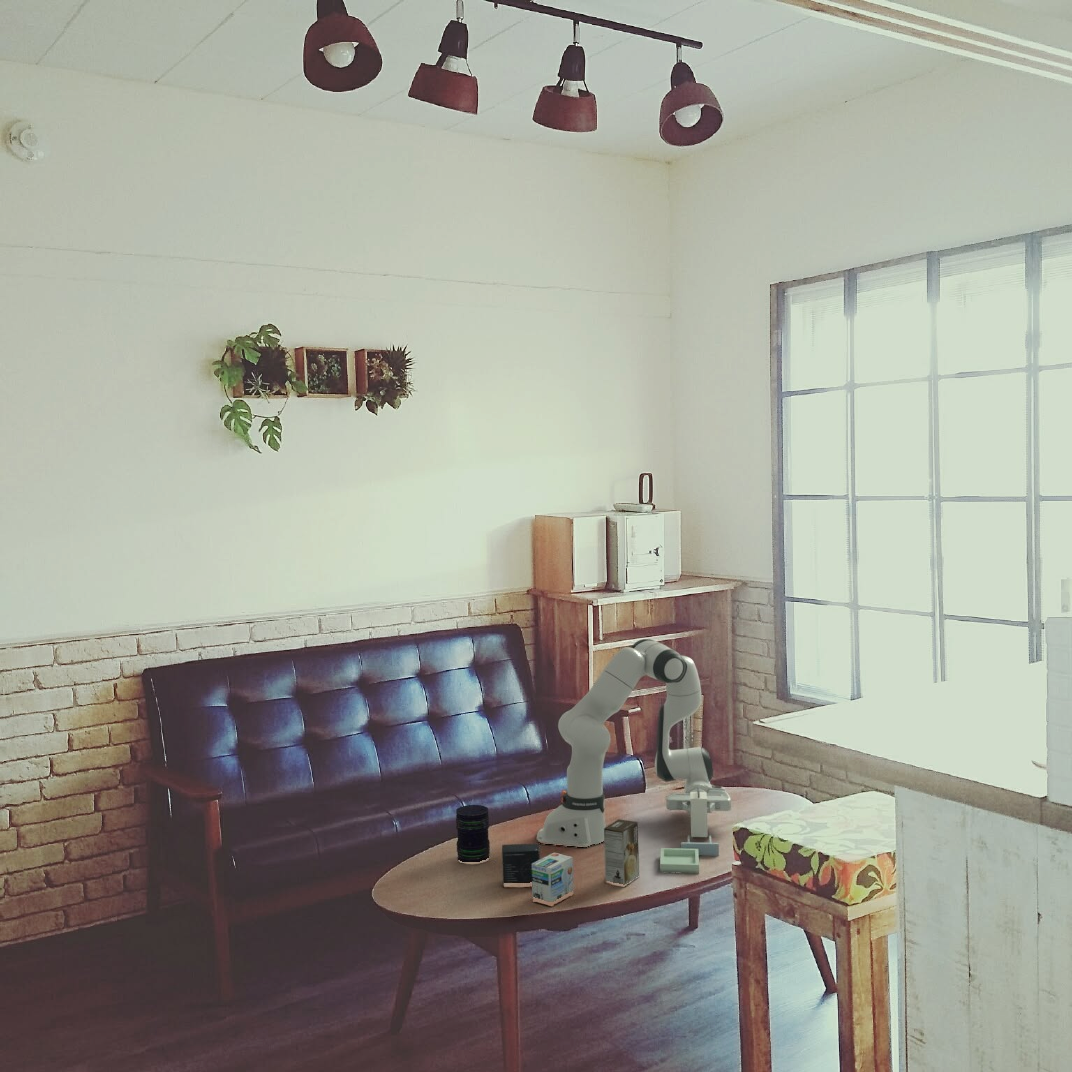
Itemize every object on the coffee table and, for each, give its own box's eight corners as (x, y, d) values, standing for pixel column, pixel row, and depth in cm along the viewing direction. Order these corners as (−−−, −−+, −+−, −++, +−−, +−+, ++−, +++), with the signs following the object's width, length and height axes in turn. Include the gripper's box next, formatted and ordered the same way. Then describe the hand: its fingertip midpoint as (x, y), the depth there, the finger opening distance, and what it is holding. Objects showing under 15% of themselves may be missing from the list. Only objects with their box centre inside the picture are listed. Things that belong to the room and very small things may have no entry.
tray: (660, 872, 321) (660, 864, 321) (660, 856, 334) (660, 848, 334) (699, 873, 320) (699, 864, 319) (698, 857, 332) (698, 848, 332)
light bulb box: (551, 908, 298) (550, 868, 297) (531, 902, 302) (530, 863, 301) (574, 894, 306) (573, 856, 306) (554, 889, 311) (553, 851, 310)
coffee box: (619, 873, 321) (618, 818, 320) (639, 877, 318) (638, 821, 317) (604, 884, 314) (603, 827, 312) (625, 888, 310) (624, 831, 309)
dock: (681, 854, 334) (681, 843, 334) (681, 844, 343) (681, 833, 343) (718, 855, 333) (718, 844, 333) (717, 845, 341) (717, 834, 341)
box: (540, 878, 319) (539, 842, 318) (540, 887, 312) (540, 851, 311) (503, 879, 319) (502, 843, 318) (502, 888, 312) (501, 852, 311)
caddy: (691, 836, 346) (690, 792, 345) (691, 829, 353) (690, 786, 352) (707, 837, 345) (706, 793, 344) (707, 829, 352) (706, 786, 351)
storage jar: (455, 865, 331) (453, 815, 329) (458, 853, 340) (457, 805, 339) (489, 864, 330) (487, 815, 329) (491, 852, 340) (490, 804, 339)
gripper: (665, 786, 362) (664, 799, 349) (729, 787, 360) (731, 800, 346) (665, 805, 363) (665, 819, 349) (729, 806, 360) (731, 820, 346)
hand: (698, 810), depth 348 cm, fingers closed on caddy, 5 cm apart
